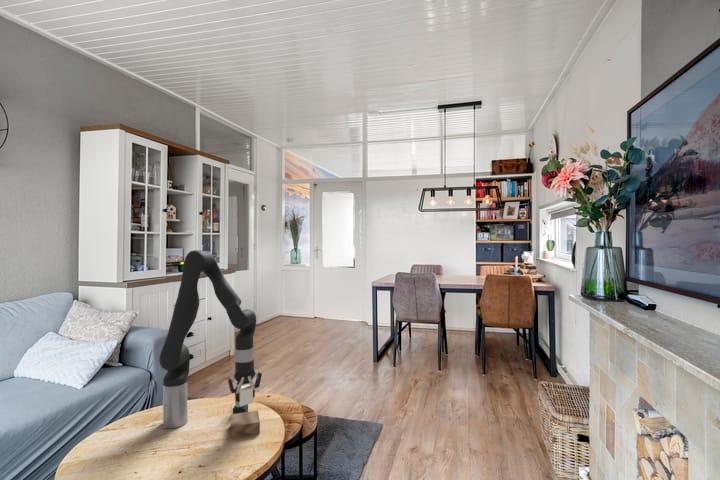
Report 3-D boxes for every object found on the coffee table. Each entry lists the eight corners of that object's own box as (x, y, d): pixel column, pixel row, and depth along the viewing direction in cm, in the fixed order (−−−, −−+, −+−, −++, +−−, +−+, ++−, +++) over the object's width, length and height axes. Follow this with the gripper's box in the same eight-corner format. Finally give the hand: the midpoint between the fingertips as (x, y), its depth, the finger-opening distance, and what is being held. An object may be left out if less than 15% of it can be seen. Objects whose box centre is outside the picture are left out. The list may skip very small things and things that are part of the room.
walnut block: (230, 439, 147) (230, 426, 147) (231, 426, 157) (230, 414, 157) (259, 434, 150) (259, 422, 150) (258, 422, 161) (257, 410, 161)
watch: (249, 409, 172) (249, 385, 172) (243, 417, 164) (243, 392, 164) (237, 409, 172) (237, 385, 172) (231, 417, 164) (230, 392, 164)
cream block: (240, 405, 150) (240, 391, 150) (237, 401, 155) (237, 387, 155) (252, 403, 153) (252, 388, 153) (249, 398, 157) (249, 384, 157)
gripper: (259, 353, 161) (259, 393, 161) (224, 359, 153) (225, 400, 153) (264, 358, 154) (264, 399, 154) (228, 364, 147) (229, 407, 147)
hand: (245, 399), depth 154 cm, fingers closed on cream block, 5 cm apart
